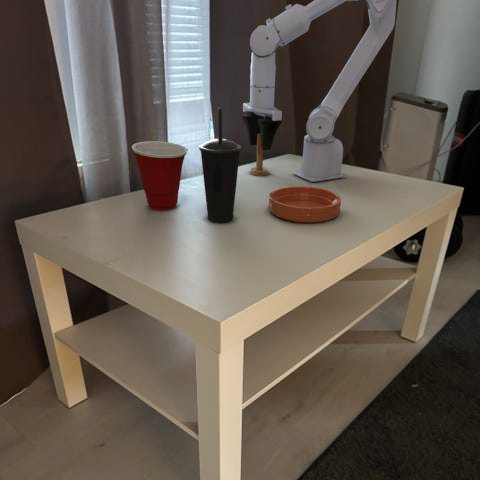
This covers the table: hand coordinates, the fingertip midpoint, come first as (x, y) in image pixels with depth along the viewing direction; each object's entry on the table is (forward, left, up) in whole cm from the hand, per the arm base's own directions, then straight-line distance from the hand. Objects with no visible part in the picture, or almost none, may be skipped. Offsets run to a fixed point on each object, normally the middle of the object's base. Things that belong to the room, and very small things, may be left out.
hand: (260, 147), depth 119 cm
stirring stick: (0, 0, -6) cm, 6 cm away
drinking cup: (+24, +25, -7) cm, 35 cm away
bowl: (+7, +29, -6) cm, 31 cm away
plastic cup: (+31, +13, -7) cm, 34 cm away
